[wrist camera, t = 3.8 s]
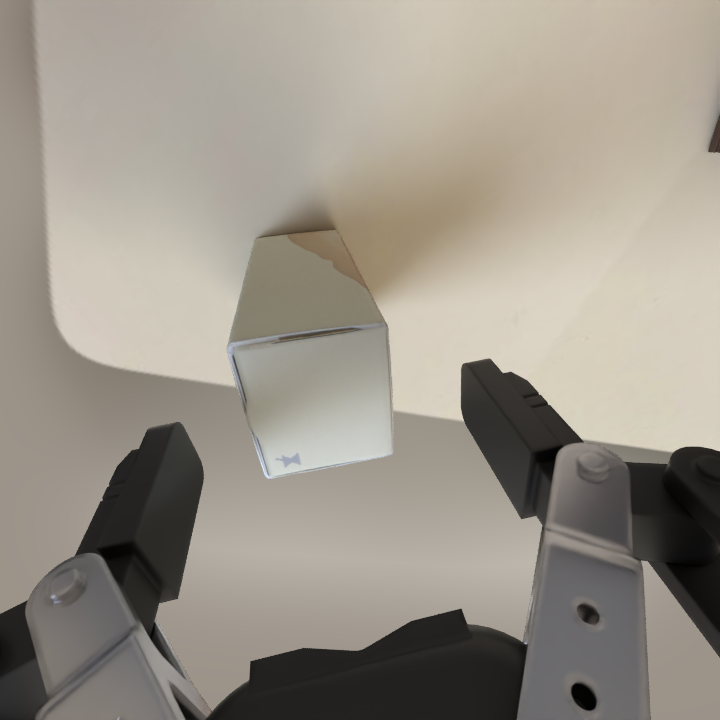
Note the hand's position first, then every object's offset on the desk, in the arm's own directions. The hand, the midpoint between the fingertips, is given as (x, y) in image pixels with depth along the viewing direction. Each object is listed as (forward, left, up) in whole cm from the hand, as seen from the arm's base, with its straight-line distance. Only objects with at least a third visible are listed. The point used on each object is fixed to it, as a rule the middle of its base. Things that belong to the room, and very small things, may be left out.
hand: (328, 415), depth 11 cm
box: (0, 0, -11) cm, 11 cm away
